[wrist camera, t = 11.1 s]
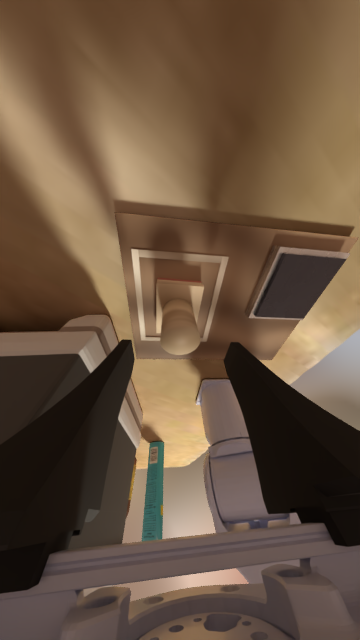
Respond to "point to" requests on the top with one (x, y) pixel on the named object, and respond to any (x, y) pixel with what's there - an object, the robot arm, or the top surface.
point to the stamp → (178, 314)
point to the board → (207, 279)
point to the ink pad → (293, 282)
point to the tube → (154, 494)
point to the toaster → (55, 383)
